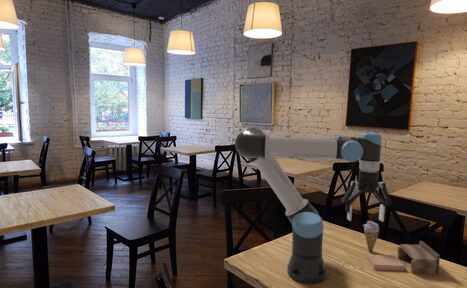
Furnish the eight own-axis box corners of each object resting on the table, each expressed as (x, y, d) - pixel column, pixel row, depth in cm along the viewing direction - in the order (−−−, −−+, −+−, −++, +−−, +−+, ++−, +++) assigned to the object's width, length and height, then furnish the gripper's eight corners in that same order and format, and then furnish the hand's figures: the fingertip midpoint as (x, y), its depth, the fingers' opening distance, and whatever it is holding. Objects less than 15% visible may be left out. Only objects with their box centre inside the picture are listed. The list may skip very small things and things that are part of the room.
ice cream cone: (359, 251, 142) (361, 219, 140) (364, 246, 146) (366, 216, 144) (374, 255, 137) (376, 223, 135) (379, 251, 142) (381, 219, 140)
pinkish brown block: (373, 270, 126) (374, 264, 125) (366, 259, 134) (366, 254, 134) (404, 271, 125) (404, 265, 124) (394, 260, 133) (394, 255, 133)
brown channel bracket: (412, 273, 122) (413, 254, 121) (397, 257, 135) (398, 240, 134) (438, 274, 121) (439, 255, 120) (421, 258, 134) (422, 241, 134)
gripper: (342, 171, 122) (338, 222, 125) (404, 173, 122) (399, 224, 125) (335, 168, 130) (332, 216, 132) (394, 169, 130) (389, 217, 132)
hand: (365, 220), depth 129 cm, fingers open, 13 cm apart
